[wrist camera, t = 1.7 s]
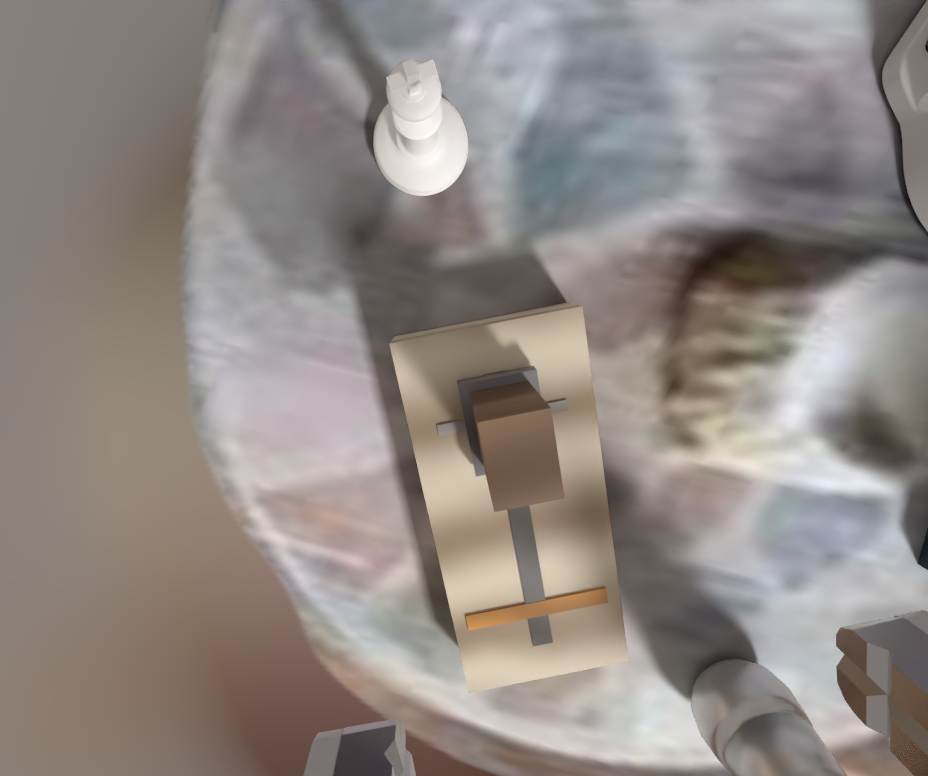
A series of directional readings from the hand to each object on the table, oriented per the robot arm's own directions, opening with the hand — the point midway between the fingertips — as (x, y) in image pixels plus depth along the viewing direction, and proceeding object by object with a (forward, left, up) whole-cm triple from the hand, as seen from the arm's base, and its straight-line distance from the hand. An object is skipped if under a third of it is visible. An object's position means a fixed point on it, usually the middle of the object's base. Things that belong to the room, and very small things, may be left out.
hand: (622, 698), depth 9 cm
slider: (0, 0, -17) cm, 17 cm away
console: (+5, +3, -21) cm, 21 cm away
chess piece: (-12, -8, -21) cm, 25 cm away
